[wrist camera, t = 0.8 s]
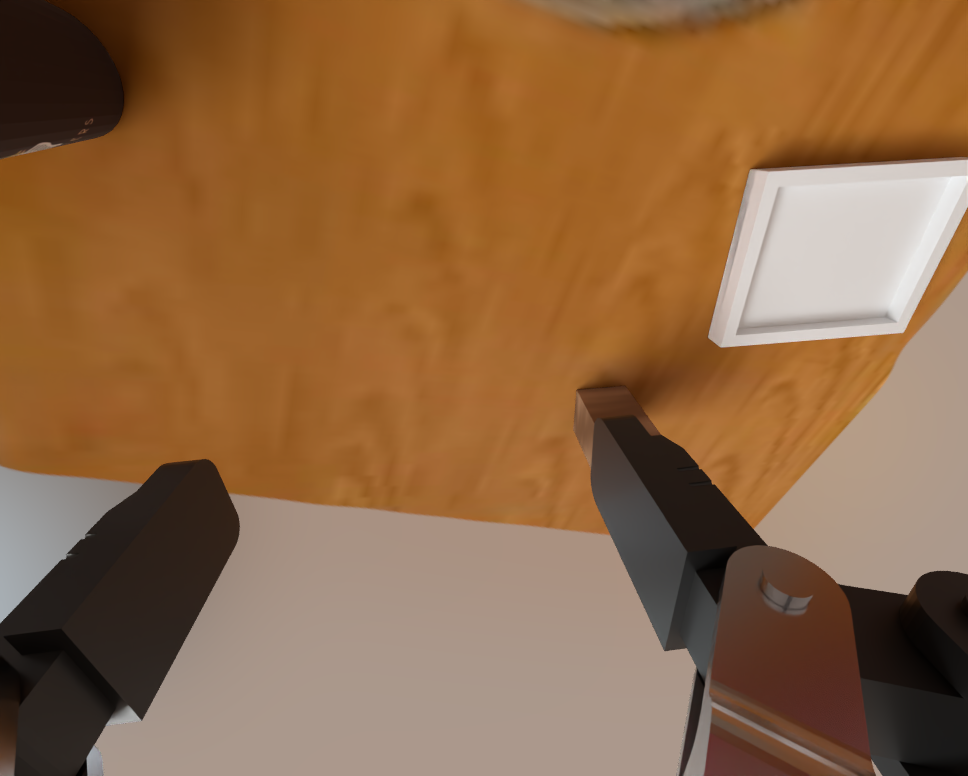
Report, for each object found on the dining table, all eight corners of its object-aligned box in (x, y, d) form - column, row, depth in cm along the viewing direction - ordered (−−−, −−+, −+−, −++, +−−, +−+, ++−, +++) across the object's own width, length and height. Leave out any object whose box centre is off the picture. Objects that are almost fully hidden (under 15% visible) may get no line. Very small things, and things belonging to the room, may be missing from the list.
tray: (750, 169, 30) (768, 171, 28) (961, 156, 31) (992, 158, 29) (707, 337, 37) (720, 347, 35) (882, 323, 37) (903, 332, 36)
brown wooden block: (576, 389, 38) (620, 473, 29) (625, 385, 39) (684, 466, 29) (573, 429, 41) (613, 518, 31) (619, 425, 41) (672, 512, 32)
